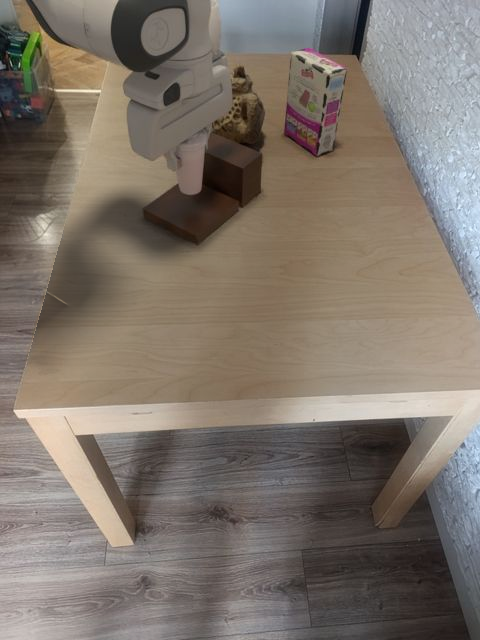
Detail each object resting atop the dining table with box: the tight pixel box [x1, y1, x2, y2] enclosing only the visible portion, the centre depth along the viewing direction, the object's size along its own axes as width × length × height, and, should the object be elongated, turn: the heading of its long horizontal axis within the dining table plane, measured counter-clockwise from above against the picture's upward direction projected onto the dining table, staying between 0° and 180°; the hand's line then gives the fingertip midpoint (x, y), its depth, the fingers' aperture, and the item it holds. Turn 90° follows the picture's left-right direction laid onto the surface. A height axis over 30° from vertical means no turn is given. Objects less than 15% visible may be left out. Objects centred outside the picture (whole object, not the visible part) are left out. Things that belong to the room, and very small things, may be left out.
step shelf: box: [142, 131, 263, 246], centre depth 88 cm, size 12×19×8 cm, turn 146°
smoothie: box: [173, 129, 207, 195], centre depth 80 cm, size 6×6×14 cm
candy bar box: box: [283, 47, 348, 157], centre depth 100 cm, size 11×5×16 cm, turn 37°
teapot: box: [212, 63, 266, 145], centre depth 99 cm, size 21×12×15 cm, turn 23°
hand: (188, 159), depth 81 cm, fingers closed on smoothie, 5 cm apart
